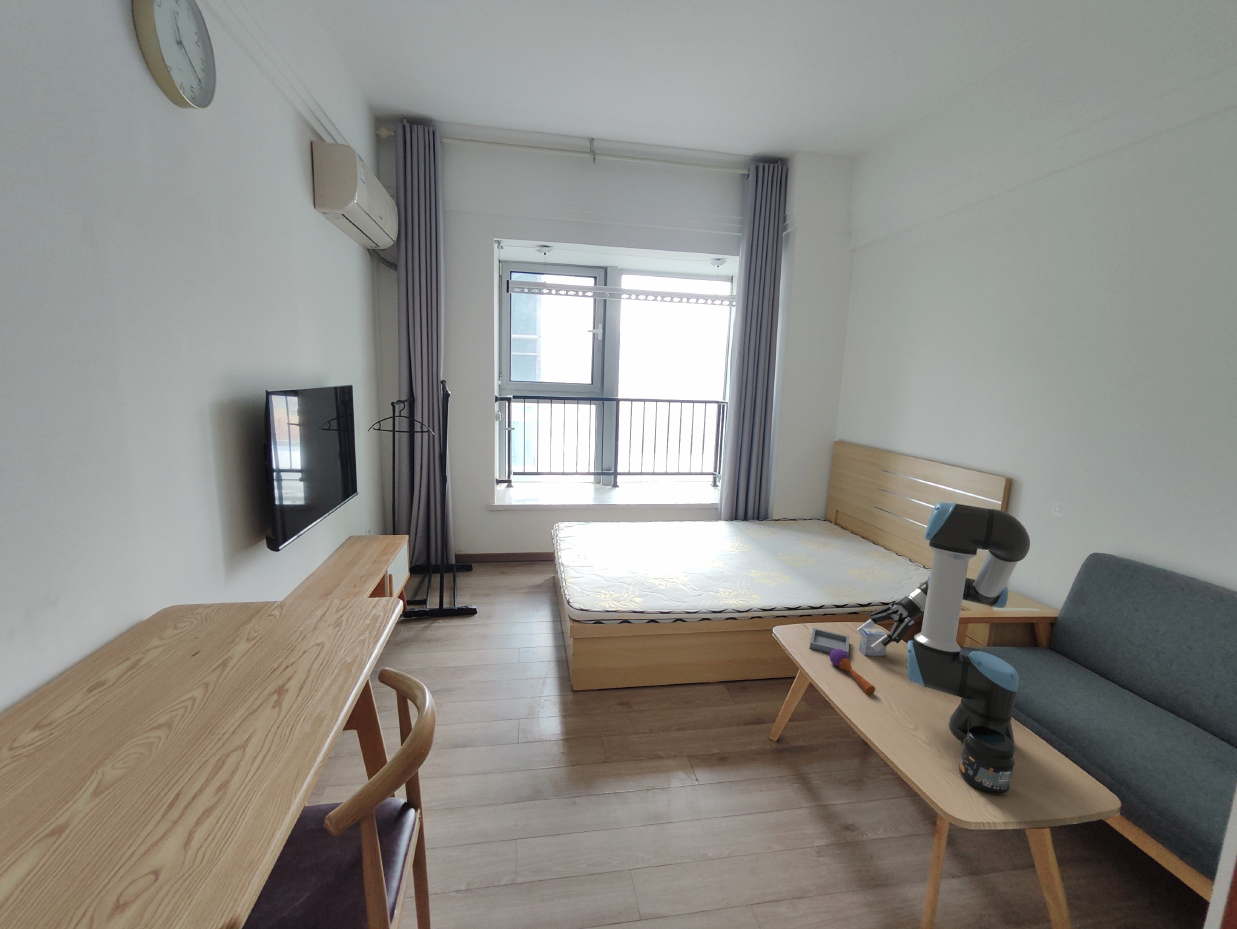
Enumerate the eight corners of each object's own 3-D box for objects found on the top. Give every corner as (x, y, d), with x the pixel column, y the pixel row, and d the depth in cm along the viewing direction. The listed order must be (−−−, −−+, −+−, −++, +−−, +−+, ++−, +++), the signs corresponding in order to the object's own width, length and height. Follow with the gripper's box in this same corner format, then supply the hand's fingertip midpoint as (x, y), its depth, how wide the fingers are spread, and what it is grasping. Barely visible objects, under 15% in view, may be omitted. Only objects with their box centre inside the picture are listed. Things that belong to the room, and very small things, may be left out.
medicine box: (878, 650, 192) (882, 628, 190) (885, 656, 187) (889, 634, 186) (858, 649, 191) (861, 627, 190) (864, 656, 187) (867, 633, 185)
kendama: (862, 684, 162) (826, 647, 181) (861, 700, 163) (826, 661, 182) (879, 680, 163) (841, 643, 182) (878, 696, 164) (841, 658, 183)
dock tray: (847, 658, 184) (848, 651, 184) (809, 648, 190) (810, 642, 189) (848, 642, 196) (849, 636, 196) (812, 633, 201) (813, 627, 201)
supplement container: (962, 759, 136) (970, 718, 134) (1011, 781, 129) (1020, 739, 127) (953, 779, 129) (961, 736, 127) (1005, 805, 122) (1014, 760, 120)
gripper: (940, 626, 174) (888, 665, 177) (904, 597, 198) (858, 631, 201) (927, 611, 173) (874, 650, 176) (892, 583, 197) (846, 618, 200)
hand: (866, 640), depth 188 cm, fingers open, 11 cm apart
